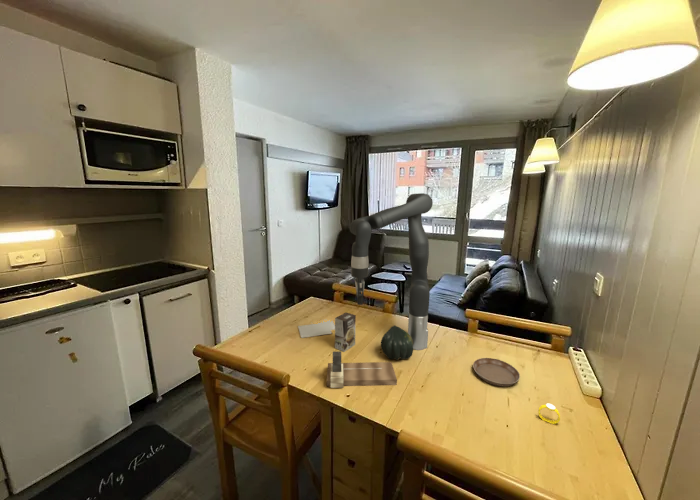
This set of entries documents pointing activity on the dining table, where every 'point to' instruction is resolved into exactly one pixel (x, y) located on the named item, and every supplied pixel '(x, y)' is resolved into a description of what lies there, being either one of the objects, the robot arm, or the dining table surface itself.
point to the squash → (397, 344)
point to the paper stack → (316, 329)
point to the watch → (552, 408)
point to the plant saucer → (496, 371)
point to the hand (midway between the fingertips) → (359, 300)
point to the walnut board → (366, 374)
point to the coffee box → (345, 331)
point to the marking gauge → (337, 371)
